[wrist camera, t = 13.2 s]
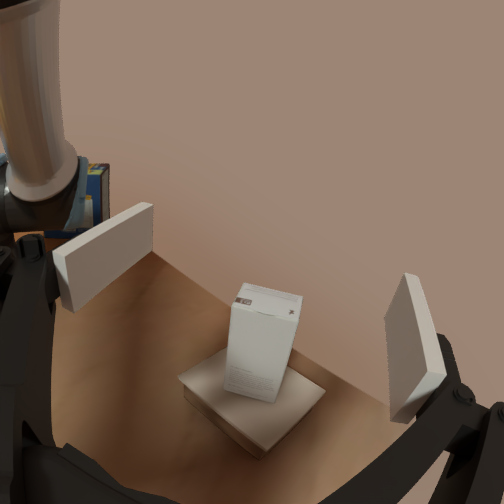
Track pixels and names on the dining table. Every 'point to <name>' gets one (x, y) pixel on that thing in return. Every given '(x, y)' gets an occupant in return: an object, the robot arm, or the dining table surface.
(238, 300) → the skincare box
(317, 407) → the dining table surface
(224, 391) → the podium
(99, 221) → the protein box
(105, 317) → the dining table surface
